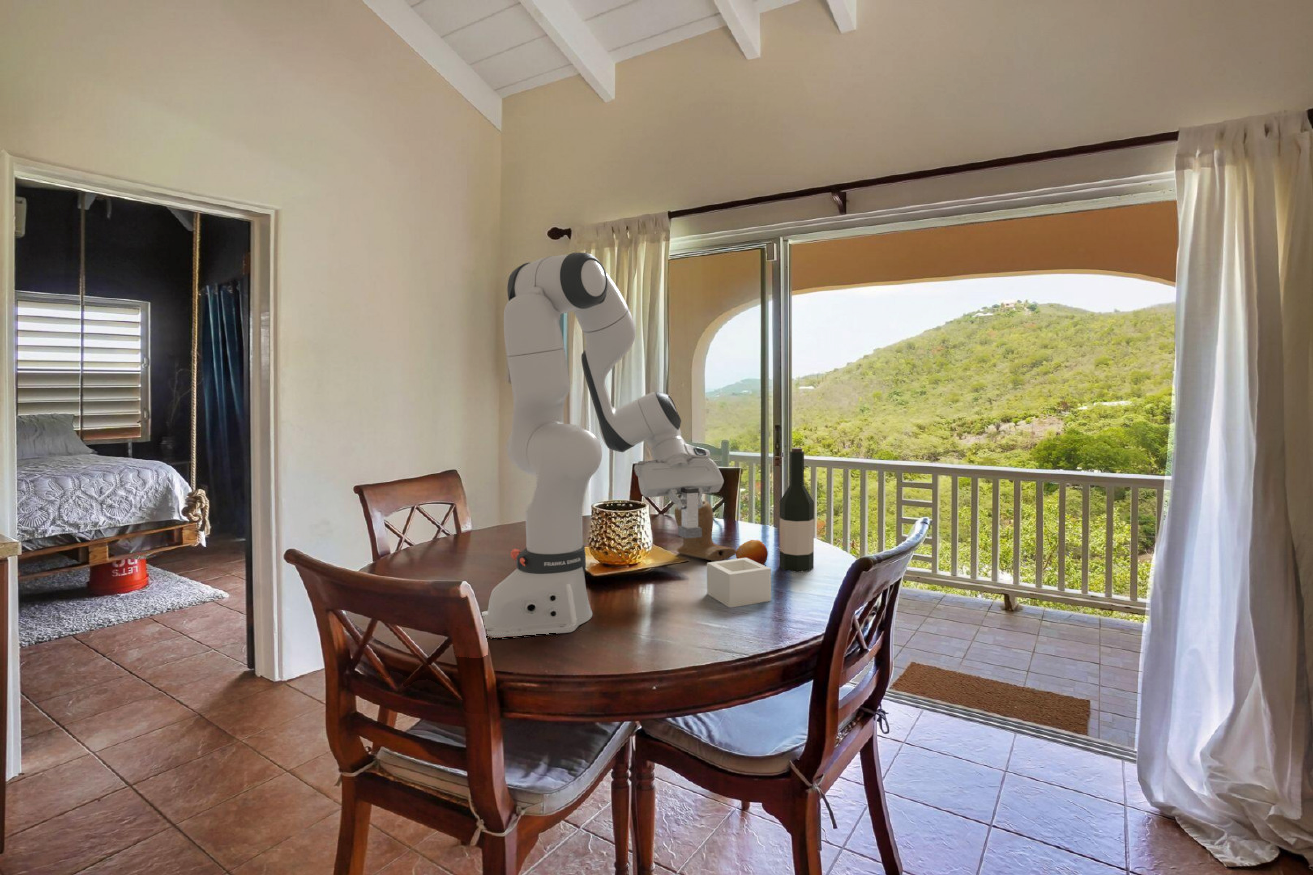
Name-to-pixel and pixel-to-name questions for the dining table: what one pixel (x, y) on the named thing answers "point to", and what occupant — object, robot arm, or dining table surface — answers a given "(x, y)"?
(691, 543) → the brown boot
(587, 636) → the dining table surface
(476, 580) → the dining table surface
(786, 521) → the wine bottle
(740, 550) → the fruit
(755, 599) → the holder
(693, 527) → the capped white pillar
